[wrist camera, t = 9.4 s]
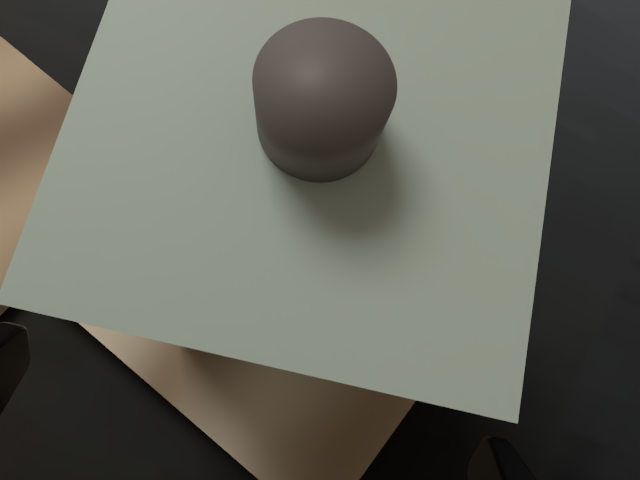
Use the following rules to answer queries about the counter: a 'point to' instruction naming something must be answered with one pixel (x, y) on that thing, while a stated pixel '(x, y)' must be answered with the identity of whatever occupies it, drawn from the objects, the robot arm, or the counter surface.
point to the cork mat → (24, 141)
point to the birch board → (266, 409)
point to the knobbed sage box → (309, 188)
